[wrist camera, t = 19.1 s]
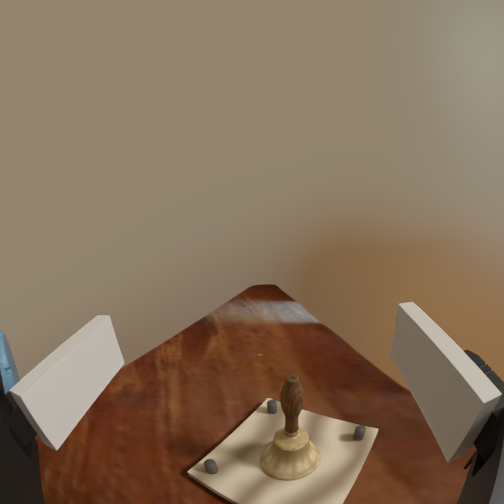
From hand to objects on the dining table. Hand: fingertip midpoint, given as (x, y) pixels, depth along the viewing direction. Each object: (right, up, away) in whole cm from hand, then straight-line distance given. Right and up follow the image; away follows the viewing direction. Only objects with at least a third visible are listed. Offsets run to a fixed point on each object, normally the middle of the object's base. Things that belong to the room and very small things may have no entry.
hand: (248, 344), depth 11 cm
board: (+5, -26, +19) cm, 32 cm away
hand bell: (+5, -25, +18) cm, 31 cm away
